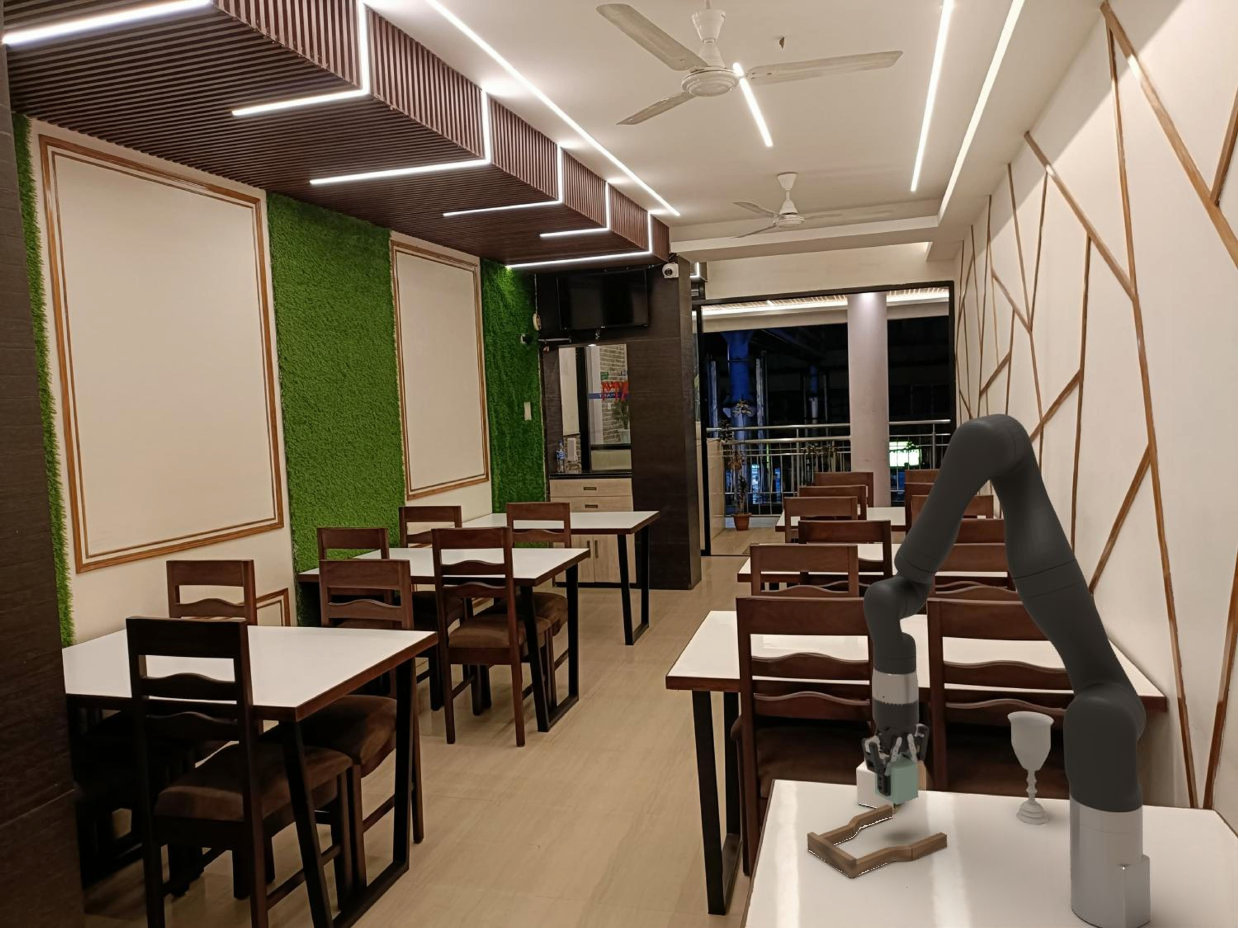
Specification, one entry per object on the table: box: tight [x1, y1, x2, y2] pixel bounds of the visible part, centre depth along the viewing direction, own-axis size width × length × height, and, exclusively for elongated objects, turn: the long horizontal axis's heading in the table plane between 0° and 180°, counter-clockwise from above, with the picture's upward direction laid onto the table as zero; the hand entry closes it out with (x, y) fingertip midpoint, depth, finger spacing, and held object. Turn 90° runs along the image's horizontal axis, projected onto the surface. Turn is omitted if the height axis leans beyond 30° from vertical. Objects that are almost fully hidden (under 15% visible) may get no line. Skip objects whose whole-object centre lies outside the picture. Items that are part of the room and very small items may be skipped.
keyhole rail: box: [806, 804, 948, 879], centre depth 149 cm, size 13×20×3 cm
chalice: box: [1007, 711, 1054, 825], centre depth 156 cm, size 7×7×18 cm
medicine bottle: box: [855, 736, 905, 814], centre depth 165 cm, size 7×7×12 cm
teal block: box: [875, 753, 919, 805], centre depth 152 cm, size 5×5×6 cm
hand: (896, 789), depth 152 cm, fingers closed on teal block, 5 cm apart
